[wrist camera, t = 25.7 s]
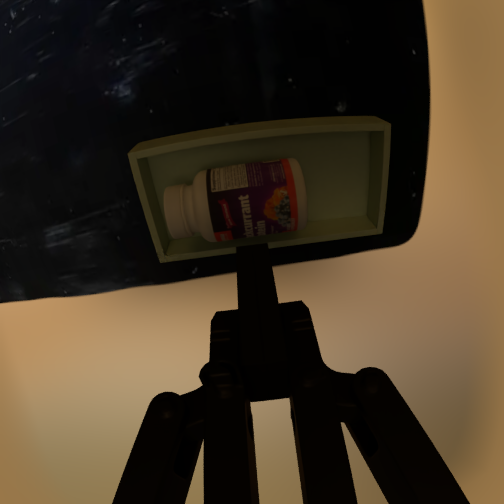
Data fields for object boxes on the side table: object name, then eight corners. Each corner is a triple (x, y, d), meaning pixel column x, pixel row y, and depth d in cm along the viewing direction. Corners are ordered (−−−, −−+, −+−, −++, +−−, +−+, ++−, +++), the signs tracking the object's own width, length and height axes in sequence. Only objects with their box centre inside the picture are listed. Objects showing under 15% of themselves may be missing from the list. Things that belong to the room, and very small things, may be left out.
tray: (374, 115, 22) (391, 123, 19) (369, 217, 27) (382, 233, 25) (138, 142, 22) (127, 153, 19) (165, 243, 28) (160, 263, 25)
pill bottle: (308, 244, 22) (178, 263, 23) (294, 198, 26) (182, 215, 26) (310, 186, 18) (155, 210, 18) (292, 143, 22) (165, 164, 22)
